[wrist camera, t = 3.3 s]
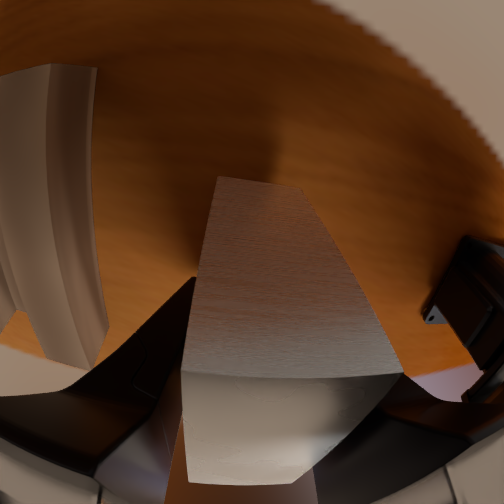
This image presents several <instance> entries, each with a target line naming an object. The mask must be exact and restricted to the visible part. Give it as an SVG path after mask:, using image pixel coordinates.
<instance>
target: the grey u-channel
mask: <svg viewBox="0 0 504 504" xmlns="http://www.w3.org/2000/svg"><path fill="white" fill-rule="evenodd" d="M97 69H98V68H96V67H89V66H80V65H70V64H57V63H49V64H44V65H40V66H36V67H31V68H27V69H23V70H20V71H16V72H12V73H9V74H6V75H2V76H0V334H1V332H2V331H3V329H4V327H5V326H6V324H7V323H8V322H9V320H10V319H11V317H12V316H13V314H14V313H15V311H16V310H20V311H23V312H26V313H27V315H28V317H29V320H30V322H31V325H32V327H33V329H34V332H35V334H36V336H37V338H38V341H39V343H40V345H41V347H42V349H43V351H44V353H45V355H46V357H47V359H50V360H53V361H57V362H60V363H63V364H66V365H70V366H73V367H77V368H81V369H84V370H88V371H91V370H92V369H93V366H94V364H95V361H96V359H97V356H98V353H99V351H100V348H101V346H102V343H103V341H104V339H105V336H106V334H107V331H108V329H109V322H108V318H107V313H106V308H105V303H104V298H103V292H102V286H101V280H100V274H99V267H98V259H97V251H96V243H95V233H94V222H93V208H92V187H91V137H92V117H93V104H94V93H95V84H96V76H97Z"/></svg>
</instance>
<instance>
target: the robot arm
mask: <svg viewBox="0 0 504 504" xmlns="http://www.w3.org/2000/svg"><path fill="white" fill-rule="evenodd" d="M195 283H196V277H191V278H190V279H189V280H188V281H187V282H186V283H185V284H184V285H183V286H182V287H181V288H180V289H179V290H178V291H176V292H175V293H174V294H173V295H172V296H171V297H170V298H169V299H168V300H167V301H166V302H165V303H164V304H163V305H162V306H161V307H160V308H159V309H158V310H157V311H156V312H155V313H154V314H153V315H152V316H151V317H150V318H149V319H148V320H147V321H146V322H145V323H144V324H143V325H142V326H141V327H140V328H139V329H138V330H137V331H136V333H134V334H133V335H132V336H131V337H130V338H129V339H128V340H127V341H126V342H124V343H123V344H122V345H121V346H120V347H119V348H118V349H117V350H116V351H115V352H113V353H112V354H111V355H110V356H108V357H107V358H106V359H105V360H104V361H102V362H101V363H100V364H98V365H97V366H96V367H94V368H93V369H92V370H91V371H89V372H88V373H87V374H85V375H84V376H83V377H82V378H80V379H79V380H78V381H76V382H75V383H74V384H72V385H71V386H69V387H67V388H65V389H63V390H60V391H56V392H49V393H40V394H30V395H19V396H3V397H1V396H0V504H163V503H164V499H165V493H166V488H167V483H168V478H169V472H170V468H171V461H172V458H173V453H174V448H175V443H176V439H177V433H178V429H179V424H180V420H181V415H182V411H183V407H182V386H181V367H182V360H183V354H184V347H185V341H186V334H187V328H188V322H189V316H190V310H191V305H192V299H193V293H194V288H195ZM423 320H424V321H425V323H426V324H446V323H448V324H449V325H450V327H451V328H452V330H453V331H454V333H455V334H456V336H457V337H458V339H459V340H460V342H461V343H462V345H463V346H464V347H465V348H466V349H467V350H468V352H469V353H470V355H471V357H472V358H473V360H474V361H475V363H476V365H477V366H478V368H479V370H482V371H483V373H484V374H483V375H482V376H481V377H480V378H479V380H478V381H477V382H476V383H475V384H474V385H473V386H472V387H471V388H470V389H468V390H466V391H465V392H464V393H463V394H462V395H461V399H462V402H451V401H444V400H441V399H438V398H436V397H434V396H432V395H431V394H430V393H428V392H427V391H426V390H424V389H423V388H422V387H420V386H419V385H418V384H417V383H415V382H414V381H413V380H411V379H410V378H409V377H408V376H406V375H405V374H404V373H403V374H402V375H401V377H400V378H399V379H398V380H397V382H396V383H395V384H394V385H393V387H392V388H391V389H390V390H389V391H388V392H387V394H386V395H385V396H384V397H383V398H382V399H381V401H380V402H379V403H378V404H377V405H376V406H375V407H374V408H373V409H372V411H371V412H370V413H369V414H368V415H367V416H366V417H365V418H364V419H363V420H362V421H361V422H360V423H359V424H358V425H357V426H356V427H355V428H354V429H353V430H352V431H351V432H350V433H349V434H348V435H347V436H346V437H345V438H344V439H343V440H342V441H341V442H340V443H339V444H338V445H337V446H336V447H334V448H333V449H332V450H331V451H330V452H329V453H328V454H327V455H326V456H324V457H323V458H322V459H321V460H320V461H319V462H317V463H316V464H315V465H314V466H313V472H314V479H315V485H316V492H317V498H318V504H504V245H501V244H497V243H494V242H491V241H487V240H484V239H481V238H477V237H474V236H470V235H467V236H465V237H464V238H463V239H462V241H461V243H460V245H459V247H458V249H457V252H456V254H455V256H454V258H453V260H452V262H451V264H450V267H449V269H448V271H447V273H446V275H445V277H444V279H443V281H442V282H441V284H440V286H439V288H438V290H437V292H436V294H435V296H434V297H433V299H432V301H431V303H430V304H429V306H428V308H427V310H426V311H425V313H424V315H423Z"/></svg>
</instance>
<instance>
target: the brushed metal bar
mask: <svg viewBox="0 0 504 504" xmlns="http://www.w3.org/2000/svg"><path fill="white" fill-rule="evenodd" d="M403 373H404V371H403V368H402V366H401V364H400V362H399V360H398V358H397V356H396V354H395V352H394V350H393V348H392V346H391V344H390V342H389V340H388V338H387V336H386V334H385V332H384V330H383V328H382V326H381V324H380V322H379V320H378V318H377V316H376V314H375V313H374V311H373V309H372V307H371V305H370V303H369V301H368V300H367V298H366V296H365V294H364V292H363V290H362V289H361V287H360V285H359V283H358V282H357V280H356V278H355V276H354V275H353V273H352V271H351V269H350V268H349V266H348V264H347V262H346V261H345V259H344V257H343V256H342V254H341V252H340V251H339V249H338V247H337V246H336V244H335V242H334V241H333V239H332V237H331V236H330V234H329V232H328V231H327V229H326V228H325V226H324V224H323V223H322V221H321V220H320V218H319V216H318V215H317V213H316V212H315V210H314V209H313V207H312V205H311V204H310V202H309V201H308V199H307V198H306V196H305V195H304V193H303V192H302V190H301V189H300V188H296V187H290V186H284V185H278V184H272V183H265V182H259V181H252V180H245V179H237V178H230V177H222V176H218V178H217V182H216V187H215V191H214V195H213V200H212V204H211V209H210V213H209V218H208V223H207V227H206V232H205V237H204V242H203V247H202V252H201V257H200V262H199V267H198V272H197V277H196V283H195V288H194V293H193V299H192V305H191V310H190V316H189V322H188V328H187V334H186V341H185V347H184V354H183V360H182V367H181V386H182V407H183V424H184V438H185V450H186V461H187V471H188V480H189V482H195V483H206V484H224V485H269V484H286V483H292V482H294V481H295V480H296V479H298V478H299V477H300V476H301V475H303V474H304V473H305V472H306V471H308V470H309V469H310V468H311V467H313V466H314V465H315V464H316V463H317V462H319V461H320V460H321V459H322V458H323V457H324V456H326V455H327V454H328V453H329V452H330V451H331V450H332V449H333V448H334V447H336V446H337V445H338V444H339V443H340V442H341V441H342V440H343V439H344V438H345V437H346V436H347V435H348V434H349V433H350V432H351V431H352V430H353V429H354V428H355V427H356V426H357V425H358V424H359V423H360V422H361V421H362V420H363V419H364V418H365V417H366V416H367V415H368V414H369V413H370V412H371V411H372V409H373V408H374V407H375V406H376V405H377V404H378V403H379V402H380V401H381V399H382V398H383V397H384V396H385V395H386V394H387V392H388V391H389V390H390V389H391V388H392V387H393V385H394V384H395V383H396V382H397V380H398V379H399V378H400V377H401V375H402V374H403Z"/></svg>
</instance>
